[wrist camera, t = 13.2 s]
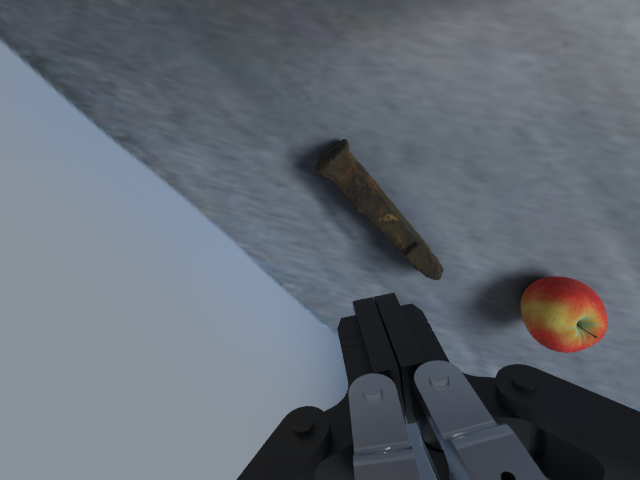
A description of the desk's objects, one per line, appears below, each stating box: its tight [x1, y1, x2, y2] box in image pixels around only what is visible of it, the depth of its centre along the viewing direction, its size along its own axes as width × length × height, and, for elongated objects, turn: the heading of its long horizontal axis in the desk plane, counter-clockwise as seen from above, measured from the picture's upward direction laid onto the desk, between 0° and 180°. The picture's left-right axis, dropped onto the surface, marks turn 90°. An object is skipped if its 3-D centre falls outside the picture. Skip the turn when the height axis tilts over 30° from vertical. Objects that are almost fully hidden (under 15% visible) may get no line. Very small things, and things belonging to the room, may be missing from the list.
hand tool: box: [316, 139, 443, 280], centre depth 43 cm, size 19×4×5 cm, turn 39°
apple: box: [521, 277, 607, 353], centre depth 47 cm, size 8×8×10 cm
